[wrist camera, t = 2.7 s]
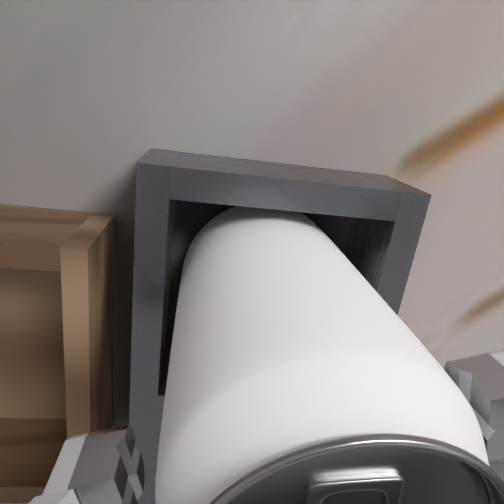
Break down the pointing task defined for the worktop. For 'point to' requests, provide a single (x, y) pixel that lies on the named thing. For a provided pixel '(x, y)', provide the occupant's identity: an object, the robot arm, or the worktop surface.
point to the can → (305, 382)
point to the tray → (257, 196)
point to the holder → (52, 339)
